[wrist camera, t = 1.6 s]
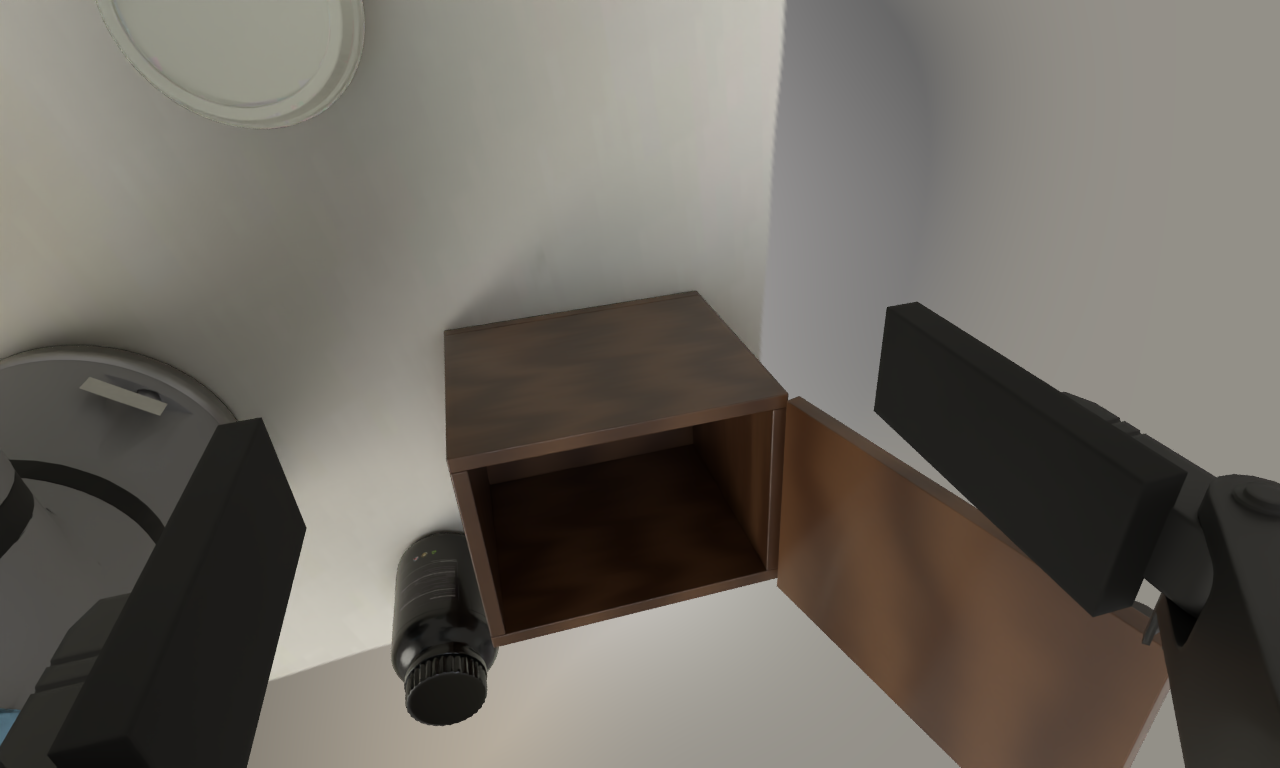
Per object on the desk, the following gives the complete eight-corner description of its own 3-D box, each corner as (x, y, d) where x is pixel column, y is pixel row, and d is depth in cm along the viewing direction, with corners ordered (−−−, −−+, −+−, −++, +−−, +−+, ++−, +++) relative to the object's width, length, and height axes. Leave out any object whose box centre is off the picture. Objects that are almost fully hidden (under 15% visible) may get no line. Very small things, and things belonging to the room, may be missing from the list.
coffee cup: (368, -99, 32) (337, -145, 22) (393, 98, 36) (376, 136, 26) (161, -114, 30) (21, -171, 20) (212, 96, 34) (118, 138, 24)
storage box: (479, 489, 49) (493, 648, 37) (443, 330, 43) (446, 460, 31) (700, 444, 52) (778, 577, 40) (696, 290, 46) (788, 393, 34)
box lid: (1069, 875, 26) (1144, 805, 28) (1178, 656, 20) (1264, 585, 22) (776, 586, 40) (841, 552, 42) (786, 400, 33) (862, 370, 35)
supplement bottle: (505, 576, 54) (521, 710, 44) (422, 610, 53) (419, 754, 43) (468, 514, 50) (476, 645, 40) (379, 551, 50) (364, 693, 39)
